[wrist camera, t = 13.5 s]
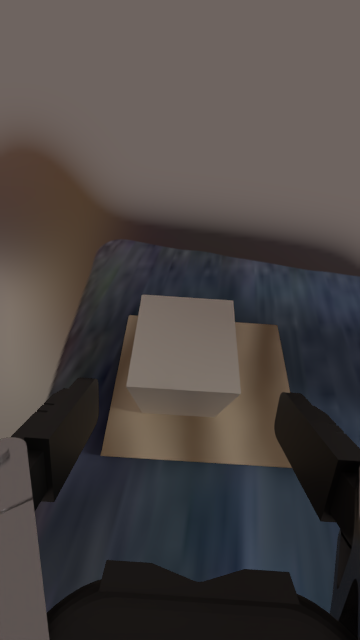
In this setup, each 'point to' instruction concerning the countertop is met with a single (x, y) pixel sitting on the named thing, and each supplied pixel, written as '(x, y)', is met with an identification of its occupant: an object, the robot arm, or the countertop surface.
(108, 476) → the countertop surface
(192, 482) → the countertop surface
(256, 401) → the board
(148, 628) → the robot arm
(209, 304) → the light grey cuboid block
